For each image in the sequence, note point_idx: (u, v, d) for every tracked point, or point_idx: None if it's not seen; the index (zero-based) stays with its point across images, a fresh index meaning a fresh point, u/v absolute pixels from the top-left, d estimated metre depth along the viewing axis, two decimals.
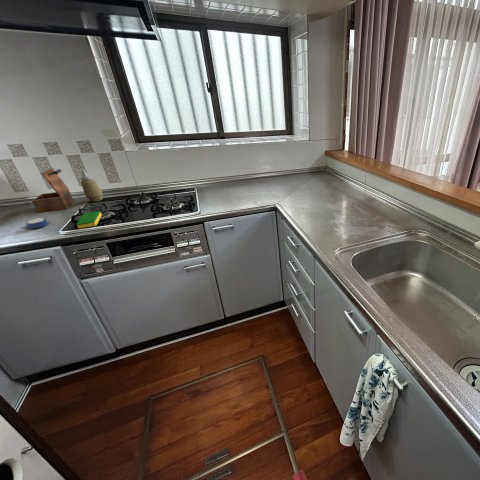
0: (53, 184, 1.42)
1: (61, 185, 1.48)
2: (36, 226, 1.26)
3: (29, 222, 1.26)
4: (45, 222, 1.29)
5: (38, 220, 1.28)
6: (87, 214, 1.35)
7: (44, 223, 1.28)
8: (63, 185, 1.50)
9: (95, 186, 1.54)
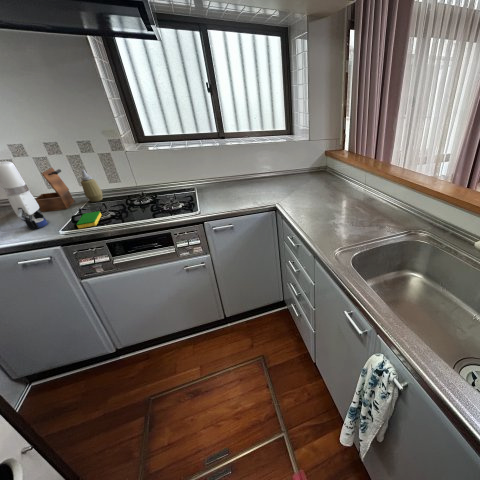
0: (53, 184, 1.42)
1: (61, 185, 1.48)
2: None
3: None
4: (45, 222, 1.29)
5: (38, 220, 1.28)
6: (87, 214, 1.35)
7: (44, 223, 1.28)
8: (63, 185, 1.50)
9: (95, 186, 1.54)
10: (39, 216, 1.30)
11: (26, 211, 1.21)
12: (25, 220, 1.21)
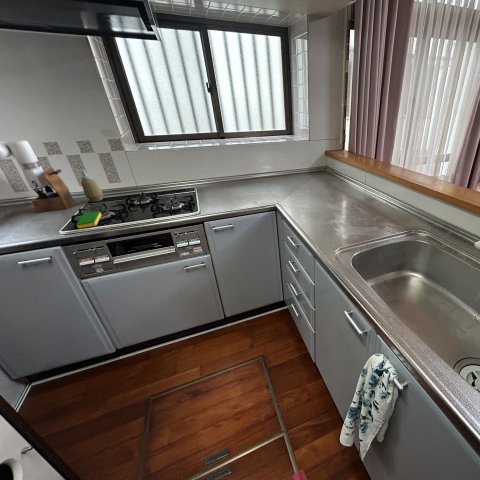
0: (53, 184, 1.42)
1: (61, 185, 1.48)
2: None
3: None
4: (55, 195, 1.47)
5: (49, 193, 1.46)
6: (87, 214, 1.35)
7: (54, 196, 1.47)
8: (63, 185, 1.50)
9: (95, 186, 1.54)
10: (49, 190, 1.48)
11: (39, 184, 1.39)
12: (38, 192, 1.39)
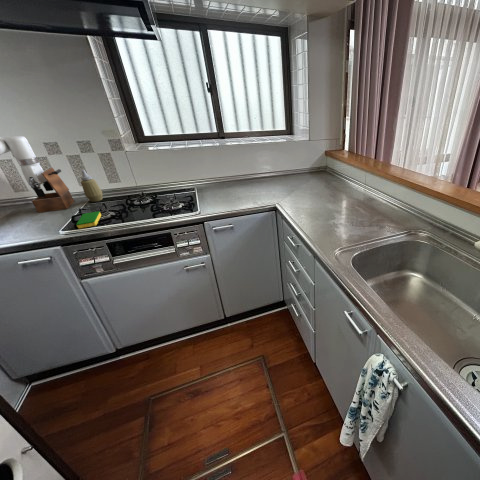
0: (53, 184, 1.42)
1: (61, 185, 1.48)
2: None
3: None
4: None
5: None
6: (87, 214, 1.35)
7: None
8: (63, 185, 1.50)
9: (95, 186, 1.54)
10: (47, 185, 1.48)
11: (36, 179, 1.38)
12: (34, 188, 1.37)
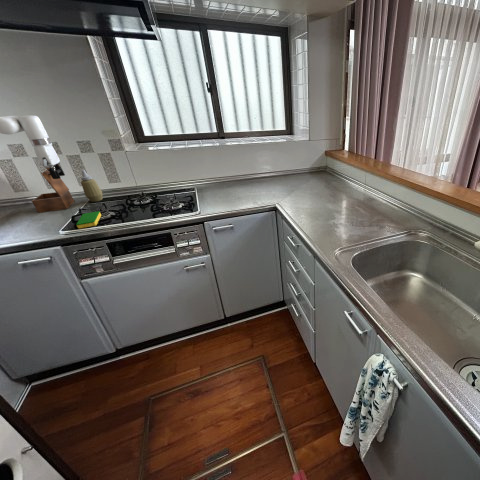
0: (53, 184, 1.42)
1: (61, 185, 1.48)
2: None
3: None
4: None
5: None
6: (87, 214, 1.35)
7: None
8: (63, 185, 1.50)
9: (95, 186, 1.54)
10: None
11: (50, 162, 1.37)
12: (49, 169, 1.38)
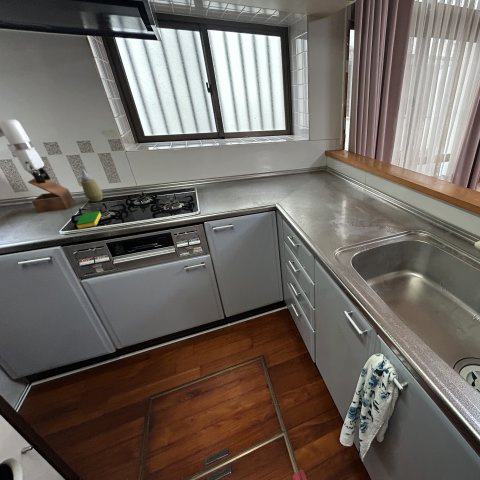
0: (46, 188, 1.41)
1: (57, 187, 1.48)
2: None
3: None
4: None
5: None
6: (87, 214, 1.35)
7: None
8: (59, 186, 1.49)
9: (95, 186, 1.54)
10: None
11: (33, 166, 1.35)
12: (33, 174, 1.36)
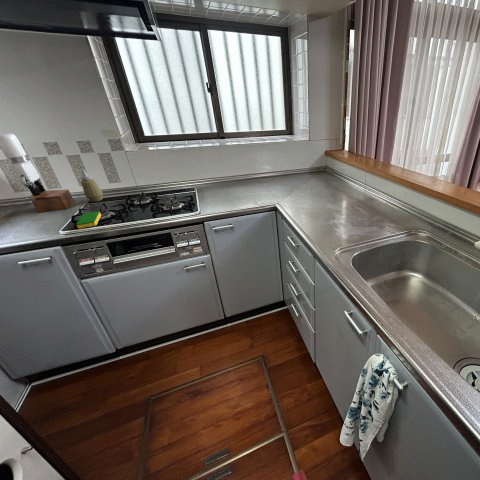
0: (45, 196, 1.43)
1: (56, 192, 1.48)
2: None
3: None
4: None
5: None
6: (87, 214, 1.35)
7: None
8: (59, 190, 1.50)
9: (95, 186, 1.54)
10: (39, 186, 1.45)
11: (29, 179, 1.37)
12: (29, 187, 1.38)
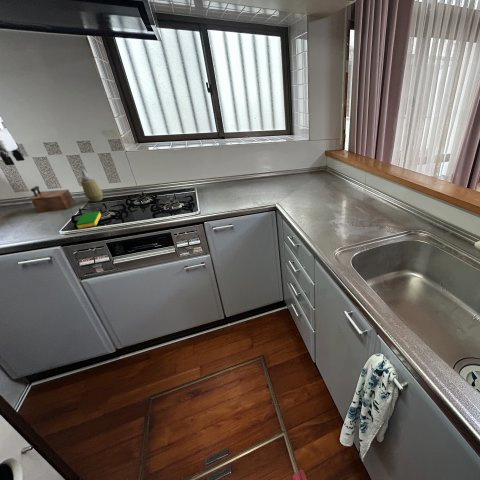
0: (46, 196, 1.43)
1: (56, 192, 1.48)
2: None
3: None
4: None
5: None
6: (86, 214, 1.35)
7: None
8: (59, 191, 1.50)
9: (95, 186, 1.54)
10: (18, 154, 1.38)
11: (3, 145, 1.28)
12: (1, 155, 1.28)
